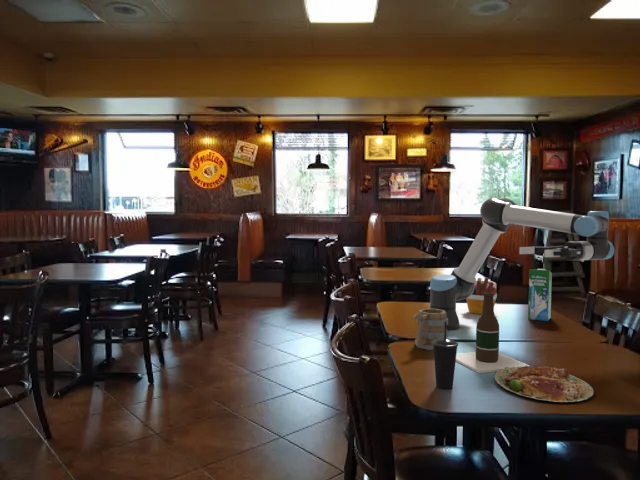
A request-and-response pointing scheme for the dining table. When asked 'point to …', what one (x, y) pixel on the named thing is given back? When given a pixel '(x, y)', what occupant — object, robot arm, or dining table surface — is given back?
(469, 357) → the square board
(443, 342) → the drinking cup
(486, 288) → the bucket of meat
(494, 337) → the beer bottle
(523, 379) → the rice dish
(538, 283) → the milk carton
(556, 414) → the dining table surface
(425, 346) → the tankard
